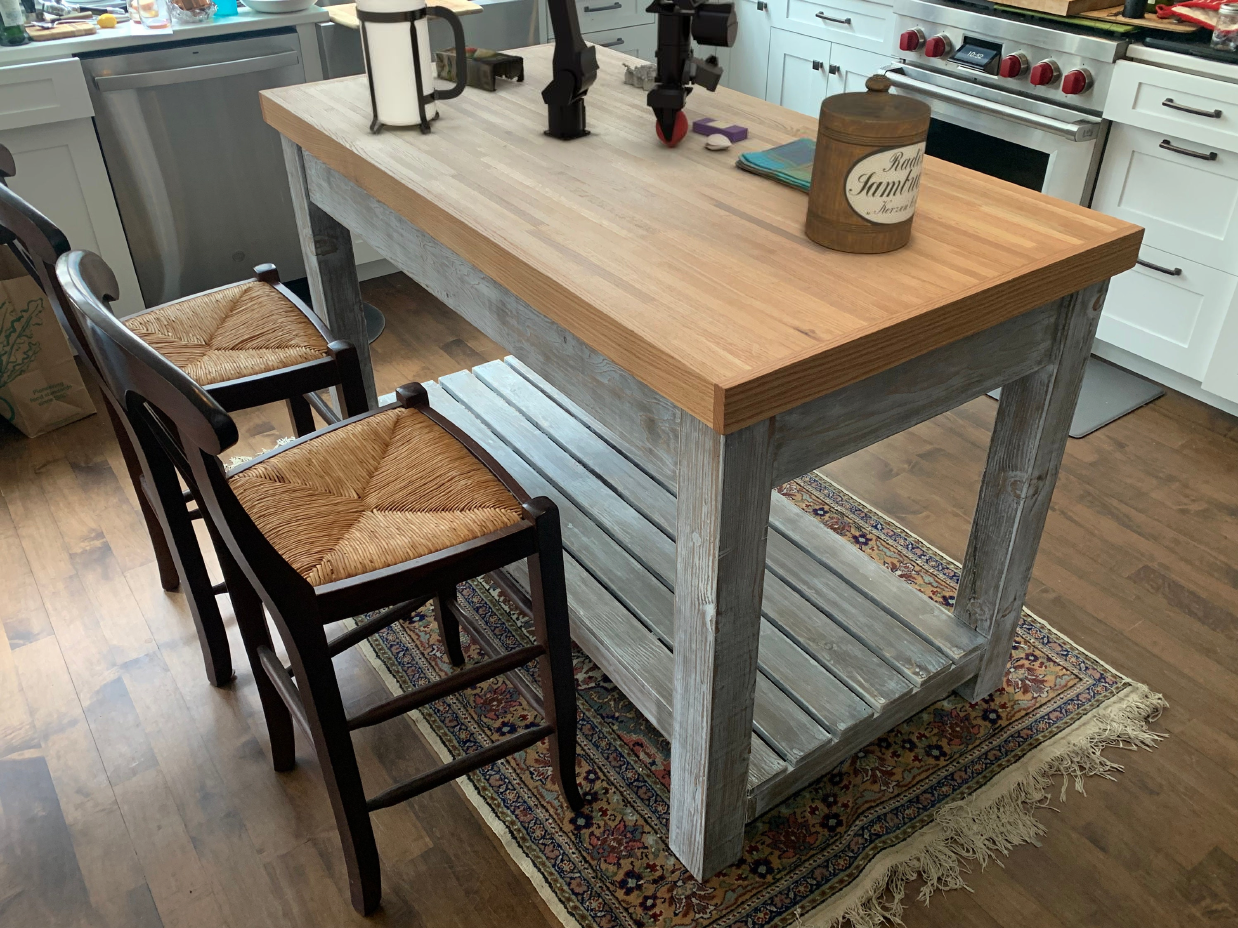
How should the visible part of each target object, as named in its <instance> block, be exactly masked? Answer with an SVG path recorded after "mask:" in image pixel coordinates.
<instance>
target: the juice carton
mask: <svg viewBox="0 0 1238 928" xmlns="http://www.w3.org/2000/svg"><path fill="white" fill-rule="evenodd" d="M465 47H466V59H467V84H466V86H469V87H473V88H478V89H481V90H484V91H488V92H496V91H497V89H496V79H497V78H501V79H503V78H505V79H506V80H510V81H513V80H514V79H516V80H515V82H516V83H523V82H524V81H525V67H524V58H523V57H522V56H519V55H512V54H508V53H504V52H498V51H494V50H490V49H486V48H481V47H477V46H470V45H466V44H465ZM434 59H435V69H436V77H437V79H441V80H448V81H453V82H456V83H457V81H458V72H457V60H456V49H455V45H454V46H450V47H448V48H446V49H442V50H439V51H435V52H434Z"/></svg>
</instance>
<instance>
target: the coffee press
mask: <svg viewBox="0 0 1238 928" xmlns="http://www.w3.org/2000/svg"><path fill="white" fill-rule="evenodd" d="M354 1H355V4H356V5H355V13H356V18H357V19H358V24H359V25H358V26H359V32H360V40H361V46H362V54H363V60H364V68H365V76H366V84H367V89H368V90H367V91H368V97H369V104H370V110H371V115H372V120H371V123H370V125H369V131H370V132H371V133H373V134H376V135H378V134H380V133H381V131H382V130H383V128H384V127H386V126H400V127H402V126H403V127H405V126H413V125H414V126H416V127H418V129H419V131H420V132H421V134H423V135H426V134H429V133H431V132H432V128H431V125H430V123H429V121H431V120H435V121H437V120H439V118H440V116H441V115H440V112H439V111H438V109H437V107H436V106H437V104H436V101H446V100H453V99H457V98H458V97H460V96H461V95H462V94H463V92H464V91H465V89H466V87H467V85H466V84H467V59H466V47H465V45H466V40H465V39H466V37H465V31H464V26H463V24H462V22H461V20H460V18H459V16H458V15H457V14H456V13H455V11H453V10H452V9H451V8H449V7H447V6H443V5H434V6H432V5H431V6H428V4H427V3H426V0H354ZM427 16H428V17H436V18H442V19H445V20H446V21H447V22H448V24H449V25H450V27H451V28H452V31H453V37H454V47H455V49H456V60H457V72H458V81H457V82H456V84H455V86H454V87H452V88H449V89H436V88H435V86H434V85H435V84H434V75H433V66H432V56H431V45H430V35H429V27H428V26H429V25H428V18H427ZM377 123H380V124H378V126H376V125H377ZM375 127H376V129H375Z"/></svg>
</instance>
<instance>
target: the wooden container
mask: <svg viewBox="0 0 1238 928" xmlns="http://www.w3.org/2000/svg"><path fill="white" fill-rule="evenodd" d="M864 87H865V88H866V90H865V91H848V92H840V93H836V94H832V95H829V96H827V97H825V98H824V99H823V100H822V101H821V103H820V109H819V113H818V114H819V115H818V123H817V124H818V125H817V127H818V128H817V134H816V141H815V142H816V148H815V155H814V162H813V169H812V175H811V182H810V189H809V193H808V198H807V210H806V218H805V227H804V232H805V234H806V236H807V237H808V238H809V239H810V240H811V241H813V242H815V243H816V244H819V245H821V246H823V247H826V248H829V249H832V250H835V251H840V252H846V253H854V254H879V253H881V254H882V253H886V252H891V251H895V250H898V249H900V248H902V247H904V246H905V245H906V244H907V243H908V242H909V240H910V238H911V232H912V229H913V223H914V215H915V212H916V207H917V202H918V196H919V189H920V184H921V177H922V171H923V163H924V157H925V151H926V145H927V137H928V132H929V128H930V123H931V116H932V108H931V106H930V105H929V104H928V103H927V102H925V101H923V100H921V99H917V98H914V97H912V96H907V95H904V94H898V93H891V92H890V91H889V90H890V89H891V87H892V79H891V78H890V77H888V76H887V75H886V74H883V73H881V74H880V73H875V74H874V73H873V74H872V75H871V76H869V77H868V78H867V79H866V80H865V83H864Z"/></svg>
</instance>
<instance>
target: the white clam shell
mask: <svg viewBox="0 0 1238 928" xmlns="http://www.w3.org/2000/svg"><path fill="white" fill-rule="evenodd" d="M705 142H706V143H705V147H706V148H708V149H710V150H711V151H718V150H724V149H728V148H731V147H732V146H733V145H732V144H733V143H732V142H730V141H729V139H728V138H727V137H725V136H723V135H721V134H713V135H710V136H708V135H707V137H706V139H705Z"/></svg>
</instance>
